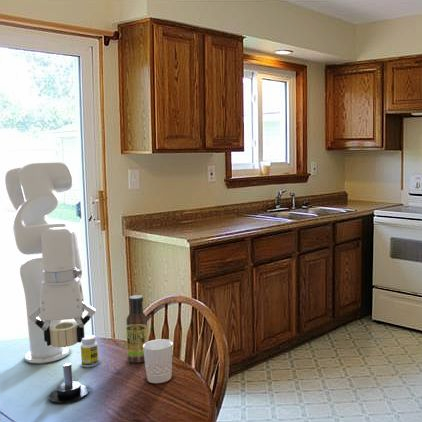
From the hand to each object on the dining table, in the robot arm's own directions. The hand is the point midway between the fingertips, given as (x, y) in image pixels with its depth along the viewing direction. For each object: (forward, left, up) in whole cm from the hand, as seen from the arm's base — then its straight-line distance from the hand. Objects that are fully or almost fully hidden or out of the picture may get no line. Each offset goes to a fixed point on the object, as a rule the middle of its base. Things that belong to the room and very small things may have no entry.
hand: (65, 341), depth 139 cm
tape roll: (0, 0, 0) cm, 0 cm away
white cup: (-3, +23, -15) cm, 28 cm away
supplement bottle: (-20, +3, -15) cm, 25 cm away
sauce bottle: (-19, +17, -15) cm, 29 cm away
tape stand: (0, 0, -14) cm, 14 cm away
